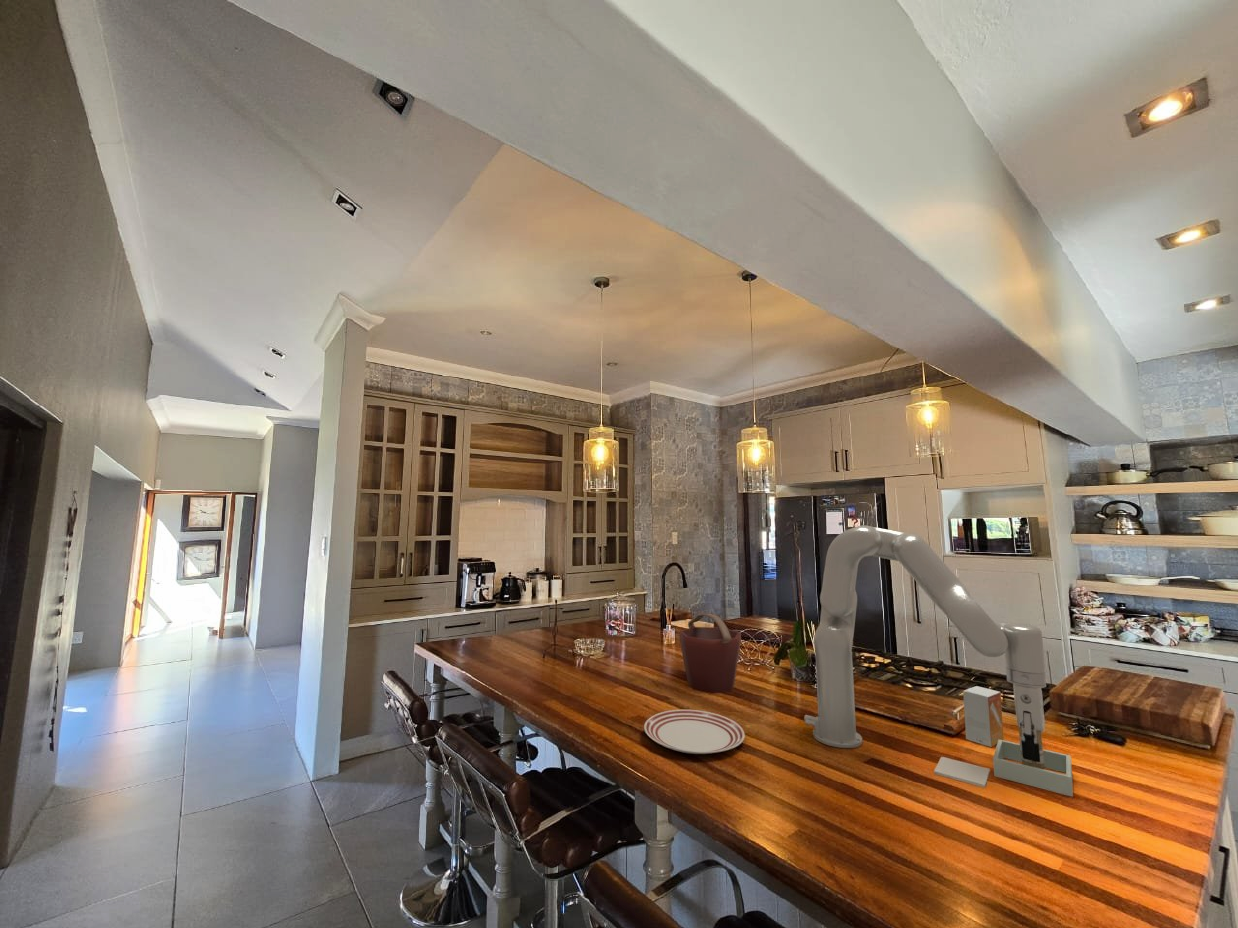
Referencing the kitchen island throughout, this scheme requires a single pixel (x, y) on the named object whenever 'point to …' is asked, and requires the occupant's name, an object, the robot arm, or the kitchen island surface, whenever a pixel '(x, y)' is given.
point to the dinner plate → (694, 731)
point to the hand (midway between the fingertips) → (1031, 755)
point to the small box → (983, 715)
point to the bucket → (710, 655)
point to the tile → (962, 771)
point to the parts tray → (1034, 769)
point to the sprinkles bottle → (1039, 741)
